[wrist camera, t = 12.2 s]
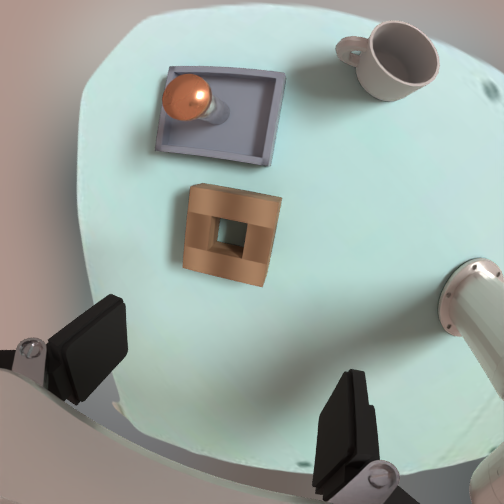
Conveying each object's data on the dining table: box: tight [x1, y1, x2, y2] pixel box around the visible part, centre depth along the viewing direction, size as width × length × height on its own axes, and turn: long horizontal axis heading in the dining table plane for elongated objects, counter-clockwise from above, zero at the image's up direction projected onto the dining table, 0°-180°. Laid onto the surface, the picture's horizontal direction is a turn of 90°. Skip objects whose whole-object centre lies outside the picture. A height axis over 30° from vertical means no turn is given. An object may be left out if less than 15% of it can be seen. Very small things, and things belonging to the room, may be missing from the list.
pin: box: [162, 74, 230, 125], centre depth 26 cm, size 4×4×10 cm
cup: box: [335, 21, 440, 101], centre depth 22 cm, size 7×10×9 cm
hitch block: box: [183, 183, 282, 287], centre depth 34 cm, size 10×10×4 cm
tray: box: [155, 66, 286, 166], centre depth 30 cm, size 14×11×2 cm
